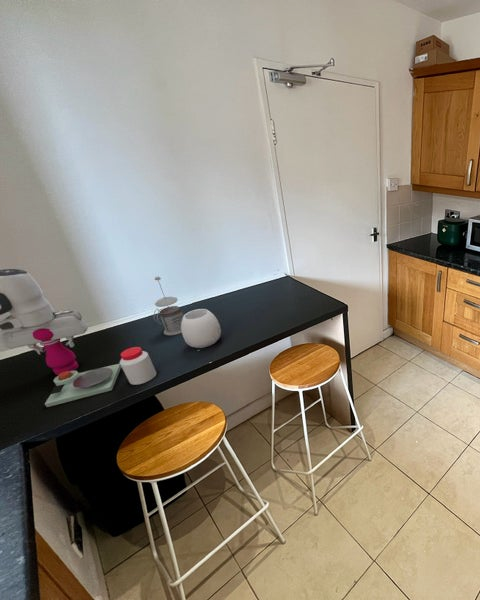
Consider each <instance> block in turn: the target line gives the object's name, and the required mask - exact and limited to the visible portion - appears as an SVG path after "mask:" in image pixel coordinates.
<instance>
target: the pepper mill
mask: <svg viewBox="0 0 480 600" xmlns="http://www.w3.org/2000/svg"><path fill="white" fill-rule="evenodd" d="M33 337H34V338H35V339H37V340H40V341H42V342H40V343H39V345H40V346H42V347H44V348H45V350H46V352H45V363H46V365H47V367H49V368H51V369H52V371H53V373H54V374H55V375H56V376H58V375H59V374H60V373H62V372H65V371H77V369H78V368H79V366H80V365H79V363H78V361H77V360H76V358H77V356H76V354H75V353H74V352H73V351H72V350H70V348H67V346H65V345H64V344H63V343H62V341H61V339H56V340H51V338H52V337H53V333H52V332H51V331H50V329H45V328H44V329H37V330H35V331H34V332H33Z"/></svg>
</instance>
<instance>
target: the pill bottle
mask: <svg viewBox="0 0 480 600" xmlns="http://www.w3.org/2000/svg"><path fill="white" fill-rule="evenodd" d="M120 357H121V358H120V360H119V364H120V365H121V369H122V371H123V373H124V375H125V377H126V379H127V380H128V383H129V384H130V385H133V386H135V385H136V386H137V385H142V384H146V383H147V382H150V381H151V380H152V379H154V378H155V377H156V376H157V371H156V368H155V365H154V364H153V361H152V359H151V356H150V355H149V352H147V351H145V350H143V349H142V347H140V346H134V347H129V348H127V349H125V350H123V351H122V352H121V353H120Z"/></svg>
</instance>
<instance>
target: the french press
mask: <svg viewBox="0 0 480 600" xmlns="http://www.w3.org/2000/svg"><path fill="white" fill-rule="evenodd" d="M154 280H155V281H158V284H159V287H160V290H161V292H162V294H163V297H161V298H159V299H157V300H156V301H155V303H154V305H155V307H159V308H156V309H155V310H154V313H153V319H154V322H156V324H159V325H163V327H164V329H163V330H164V331H163V334H164V335H165V336H176V335H179V334H182V331H181V322H182V319H183V316H184V313H183V311H182V309H181V308H180V306H178V305H173V304H176V303H177V302H178V301H179V299H178V297H175V296H165V293H164V291H163V288H162V285H161V283H160V280H161V277H160V276H155V277H154ZM171 305H172V306H171ZM162 307H163V308H162ZM156 311H157V314H156ZM155 314H156V315H155ZM155 316H156V318H155ZM159 317H160V318H159ZM156 319H157V320H156ZM159 319H161V321H160V320H159Z"/></svg>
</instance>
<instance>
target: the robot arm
mask: <svg viewBox="0 0 480 600" xmlns="http://www.w3.org/2000/svg"><path fill="white" fill-rule="evenodd" d="M7 313H10V314H9V315H7V316H5V317H4V318H2V319H0V342H1V344H2V346H4V348H7V349H10V350H12V349H16V348H22V347H26V346H27V347H28V349H30V350H33V351H35V352H36V353H37V354H38V355H44V354H46V350H45V348H44V346H42V347H41V346H39V345H37V344H40V342H42V341H40V340H37V339H35V338H34V337H33V332H34V331H35V330H37V329H44V328H45V329H50V331H51V332H52V333H53V337H52V338H51V340H56V339H60V340H61V339H64V338H65V339H66V340H68V341H66V343H65V344H64V346H65V347H66V348H67V349H71V348H74V347H75V343H74V337H75V336H79V335H80V336H81V335H84V334H85V333H86V332H87V330H88V329H89V326H88V324H87V323H86V321H85V320H84V319H83V317H82V315H81V312H80V311H78V310H74V309H67V310H66V309H65V310H61V311H55V310H54V308H53V306H52V304H51V303H50V301H48V299H46V298H45V296H44V291H43V290H42V288H41V286H40V285H39V283H38V282H37V280H36V279H35V278H34V277H33V276H32V275H31V274H30V273H29V272H28V271H26V270H24V269H18V268H5V269H0V316H2V315H4V314H7Z"/></svg>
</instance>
